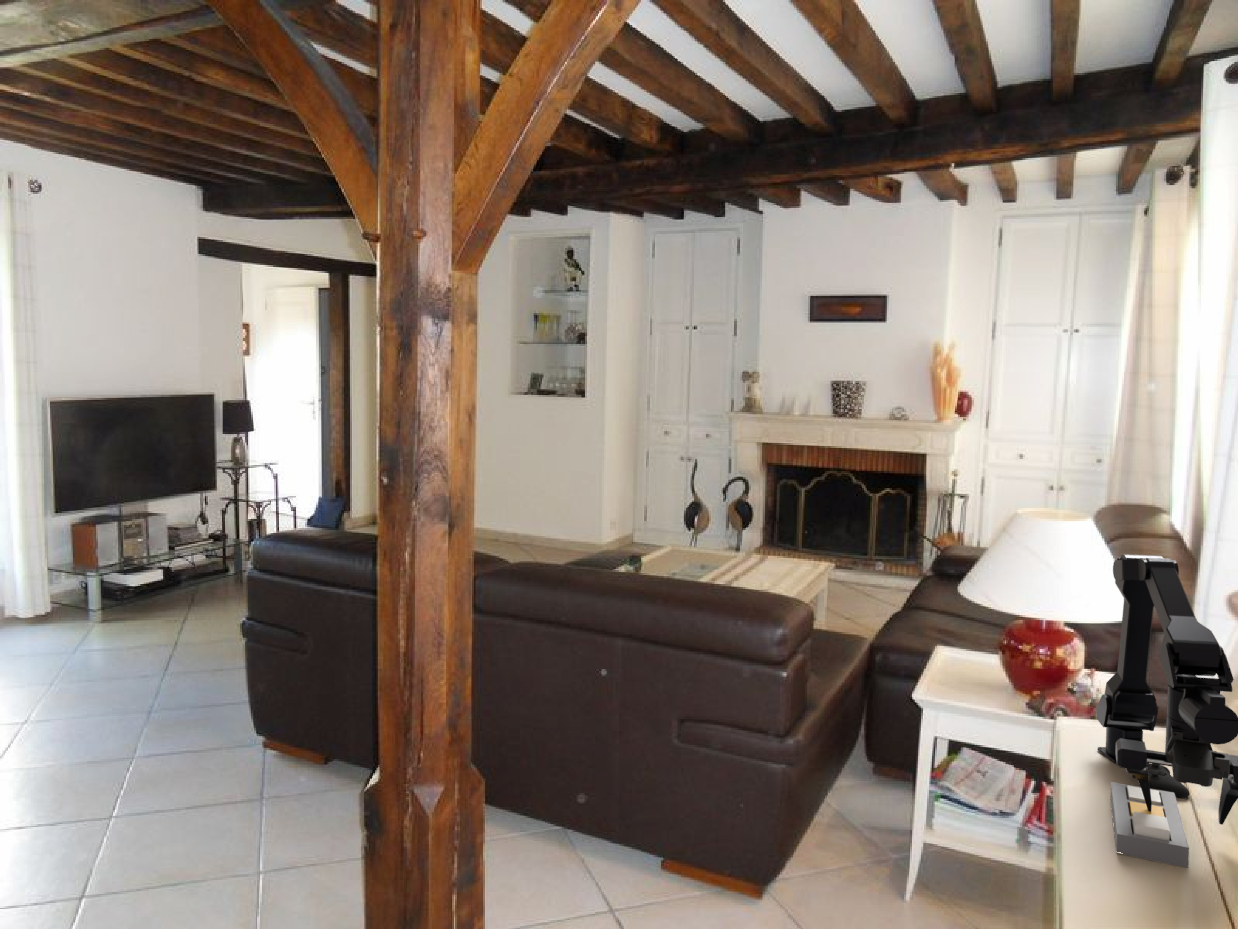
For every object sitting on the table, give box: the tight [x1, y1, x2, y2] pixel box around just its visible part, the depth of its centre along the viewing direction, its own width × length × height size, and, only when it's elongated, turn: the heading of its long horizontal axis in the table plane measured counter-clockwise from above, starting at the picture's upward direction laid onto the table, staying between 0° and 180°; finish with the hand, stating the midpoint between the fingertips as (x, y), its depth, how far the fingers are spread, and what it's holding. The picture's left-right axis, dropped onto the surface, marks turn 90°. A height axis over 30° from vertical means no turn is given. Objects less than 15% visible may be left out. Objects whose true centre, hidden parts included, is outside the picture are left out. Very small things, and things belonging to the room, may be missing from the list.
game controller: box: [1132, 763, 1190, 799], centre depth 151 cm, size 10×5×6 cm
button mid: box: [1129, 801, 1165, 817], centre depth 135 cm, size 4×4×2 cm
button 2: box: [1132, 811, 1170, 841], centre depth 130 cm, size 4×4×2 cm
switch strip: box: [1109, 781, 1190, 868], centre depth 135 cm, size 19×9×3 cm, turn 153°
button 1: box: [1127, 785, 1161, 805], centre depth 141 cm, size 4×4×2 cm
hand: (1184, 817), depth 133 cm, fingers open, 9 cm apart
